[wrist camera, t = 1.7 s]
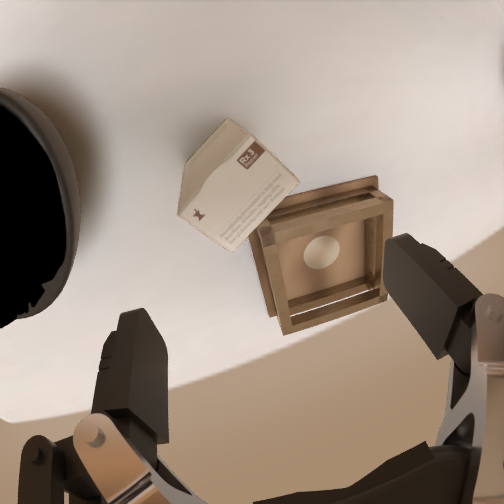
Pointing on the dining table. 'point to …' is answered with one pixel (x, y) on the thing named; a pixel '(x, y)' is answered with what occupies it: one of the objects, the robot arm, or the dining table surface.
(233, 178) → the skincare box
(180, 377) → the dining table surface
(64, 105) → the dining table surface
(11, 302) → the bowl of black rocks
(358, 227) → the walnut board
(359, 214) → the shallow wooden tray
